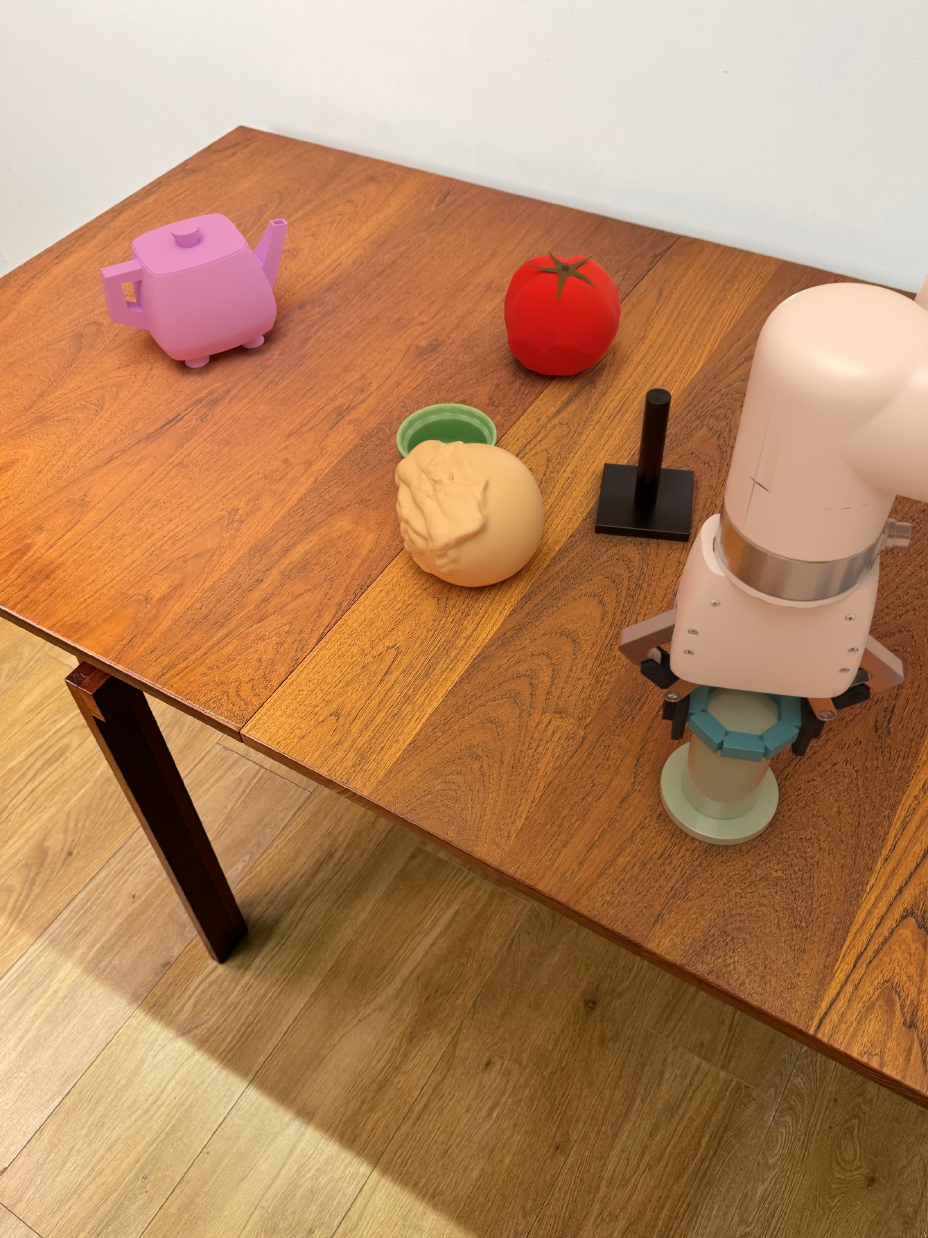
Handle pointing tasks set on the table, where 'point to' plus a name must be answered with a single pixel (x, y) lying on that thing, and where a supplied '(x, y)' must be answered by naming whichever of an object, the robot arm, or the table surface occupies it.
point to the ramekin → (445, 427)
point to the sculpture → (468, 511)
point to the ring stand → (723, 776)
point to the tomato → (561, 314)
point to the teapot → (198, 286)
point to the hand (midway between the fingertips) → (736, 727)
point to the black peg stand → (647, 485)
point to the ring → (744, 743)
